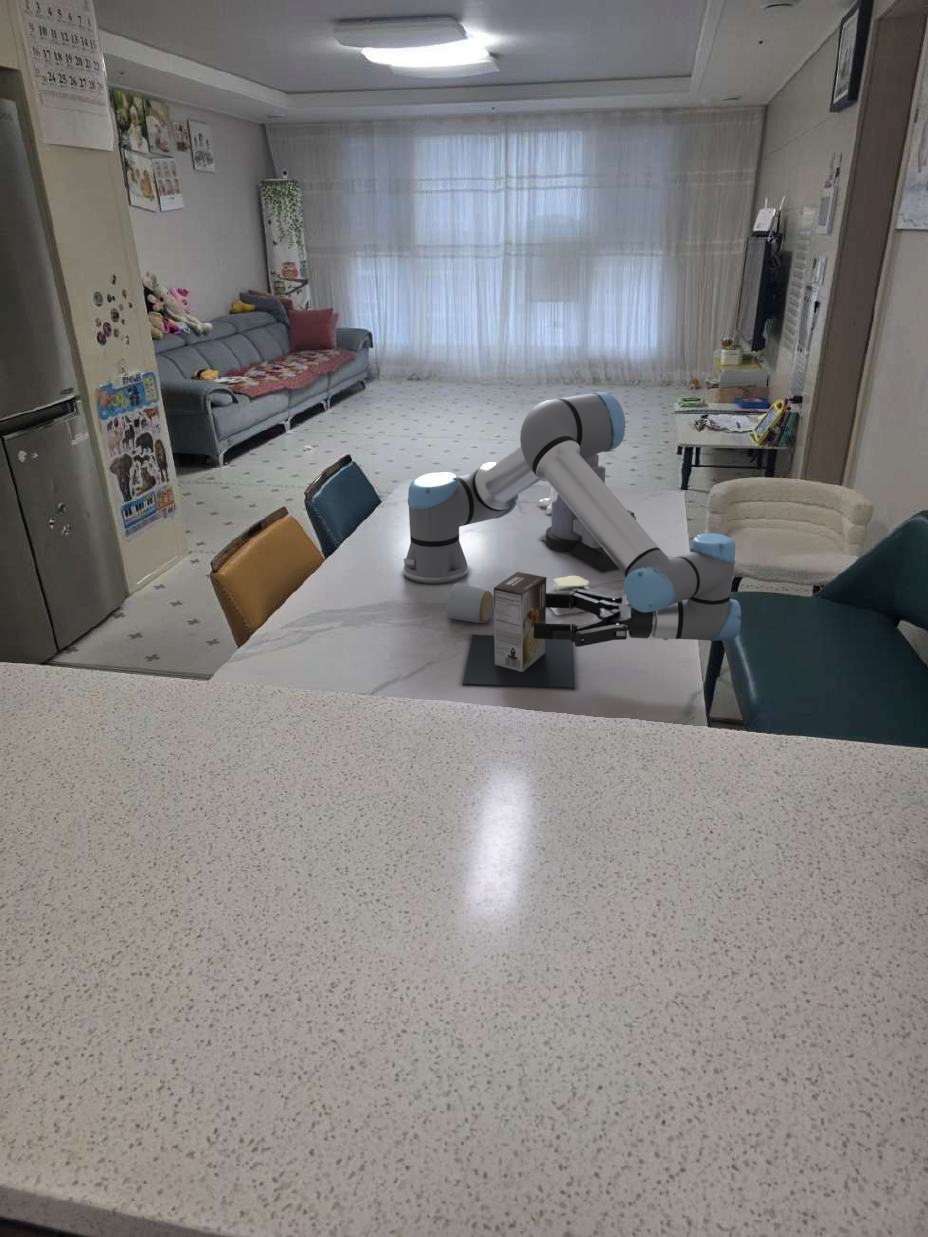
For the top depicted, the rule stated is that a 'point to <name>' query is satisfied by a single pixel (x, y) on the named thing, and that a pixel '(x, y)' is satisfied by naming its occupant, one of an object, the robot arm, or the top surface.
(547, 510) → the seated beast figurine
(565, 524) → the coffee machine
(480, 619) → the light grey tapered cylinder
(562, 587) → the stacked layers on plate
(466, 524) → the robot arm
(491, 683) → the mat
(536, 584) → the coffee box
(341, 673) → the top surface
